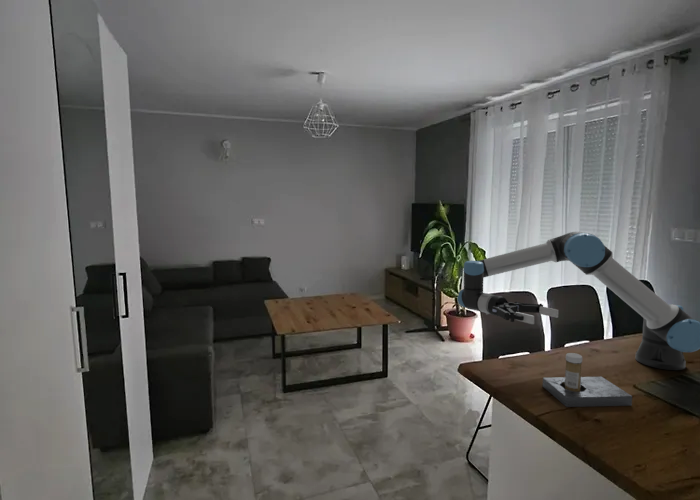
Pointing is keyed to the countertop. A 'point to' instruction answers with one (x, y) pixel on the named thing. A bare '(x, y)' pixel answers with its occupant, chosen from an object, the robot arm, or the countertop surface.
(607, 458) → the countertop surface
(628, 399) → the jig
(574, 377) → the sprinkles bottle
